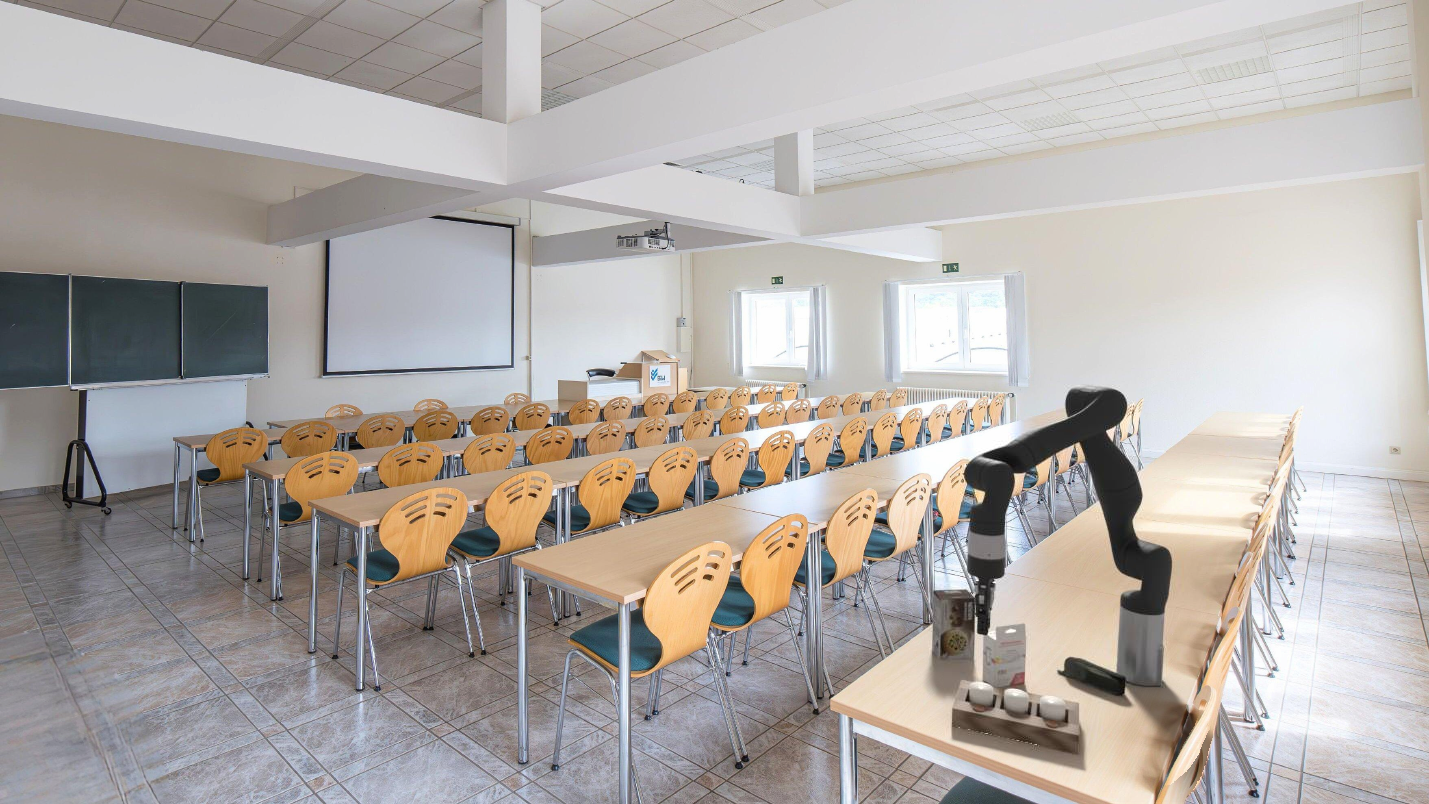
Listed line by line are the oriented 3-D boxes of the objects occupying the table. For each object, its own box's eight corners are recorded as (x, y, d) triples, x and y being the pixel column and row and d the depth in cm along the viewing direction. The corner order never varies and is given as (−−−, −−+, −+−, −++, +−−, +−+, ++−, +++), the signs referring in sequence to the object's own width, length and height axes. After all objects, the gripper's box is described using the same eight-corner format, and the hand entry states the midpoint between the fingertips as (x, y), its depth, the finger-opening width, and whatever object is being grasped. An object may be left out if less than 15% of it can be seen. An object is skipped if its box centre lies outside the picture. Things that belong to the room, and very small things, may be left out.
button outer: (993, 702, 160) (994, 684, 160) (991, 712, 156) (992, 694, 155) (970, 697, 162) (971, 680, 162) (967, 707, 158) (968, 689, 157)
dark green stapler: (1127, 674, 168) (1062, 650, 180) (1122, 678, 166) (1056, 654, 178) (1126, 695, 169) (1061, 670, 180) (1120, 699, 167) (1055, 673, 179)
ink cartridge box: (1011, 674, 178) (1013, 615, 177) (1025, 683, 174) (1027, 623, 172) (980, 678, 176) (983, 619, 175) (994, 688, 171) (996, 627, 170)
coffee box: (965, 648, 193) (967, 588, 191) (974, 659, 186) (976, 597, 185) (930, 648, 192) (932, 589, 191) (939, 660, 186) (941, 598, 184)
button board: (1078, 720, 157) (1079, 702, 157) (1078, 754, 145) (1079, 734, 144) (960, 696, 168) (961, 678, 167) (951, 726, 155) (952, 707, 155)
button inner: (1064, 717, 154) (1065, 698, 153) (1064, 728, 150) (1065, 709, 149) (1039, 711, 156) (1040, 693, 156) (1038, 722, 152) (1039, 704, 151)
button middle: (1028, 709, 157) (1029, 691, 156) (1027, 720, 153) (1028, 701, 152) (1004, 704, 159) (1005, 686, 159) (1002, 714, 155) (1003, 696, 154)
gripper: (1002, 564, 148) (999, 647, 149) (1008, 545, 160) (1005, 622, 162) (963, 559, 151) (960, 640, 153) (971, 541, 163) (969, 616, 165)
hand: (983, 630), depth 157 cm, fingers open, 3 cm apart
